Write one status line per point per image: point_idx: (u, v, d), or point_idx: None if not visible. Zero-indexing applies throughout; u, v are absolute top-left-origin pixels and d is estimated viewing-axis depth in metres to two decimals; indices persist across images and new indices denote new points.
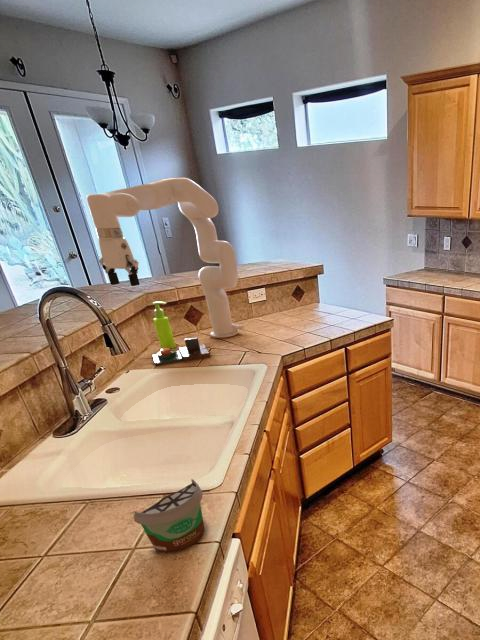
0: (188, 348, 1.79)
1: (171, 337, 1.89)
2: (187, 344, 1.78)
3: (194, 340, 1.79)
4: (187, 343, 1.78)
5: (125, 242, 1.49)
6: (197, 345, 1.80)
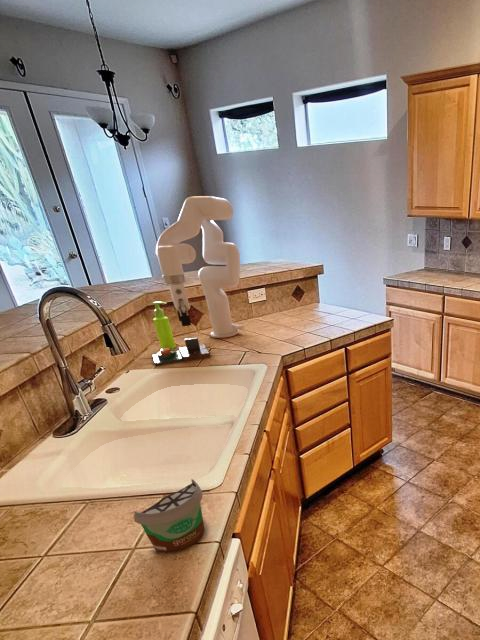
0: (188, 348, 1.79)
1: (171, 337, 1.89)
2: (187, 344, 1.78)
3: (194, 340, 1.79)
4: (187, 343, 1.78)
5: (180, 288, 1.65)
6: (197, 345, 1.80)
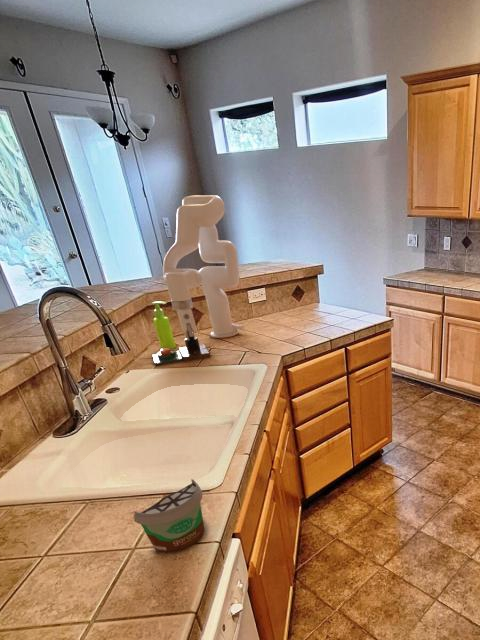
0: (188, 348, 1.79)
1: (171, 337, 1.89)
2: (187, 344, 1.78)
3: None
4: (187, 343, 1.78)
5: (188, 313, 1.70)
6: (197, 345, 1.80)
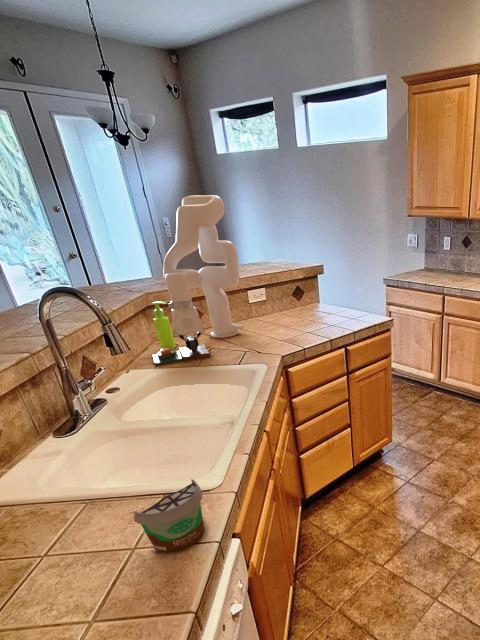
0: None
1: (171, 337, 1.89)
2: None
3: (189, 341, 1.78)
4: None
5: (172, 313, 1.70)
6: None
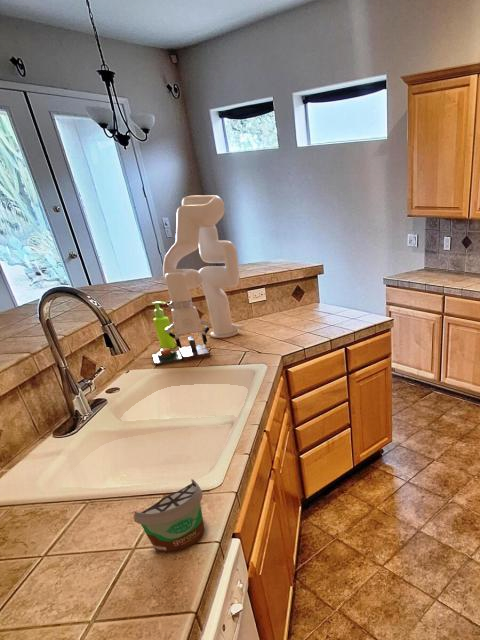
0: None
1: (171, 337, 1.89)
2: None
3: (189, 341, 1.78)
4: None
5: (172, 313, 1.71)
6: (190, 347, 1.78)
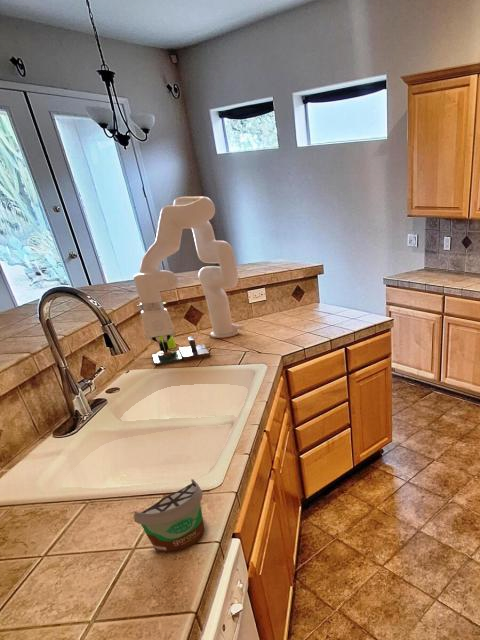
0: None
1: (171, 337, 1.89)
2: None
3: (189, 341, 1.78)
4: None
5: (141, 315, 1.65)
6: (190, 347, 1.78)
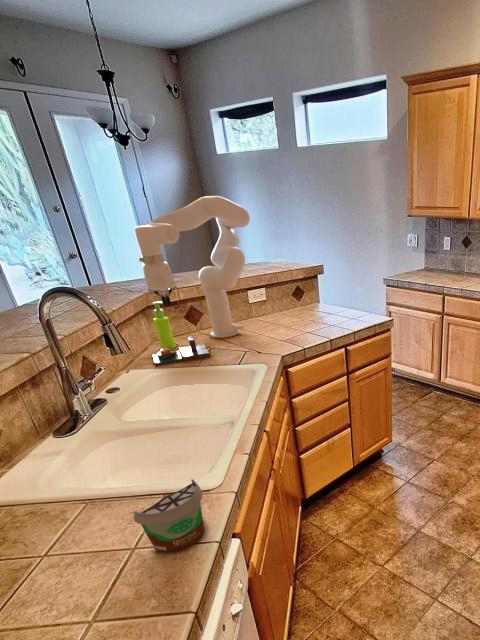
0: None
1: (171, 337, 1.89)
2: None
3: (189, 341, 1.78)
4: None
5: (143, 268, 1.69)
6: (190, 347, 1.78)
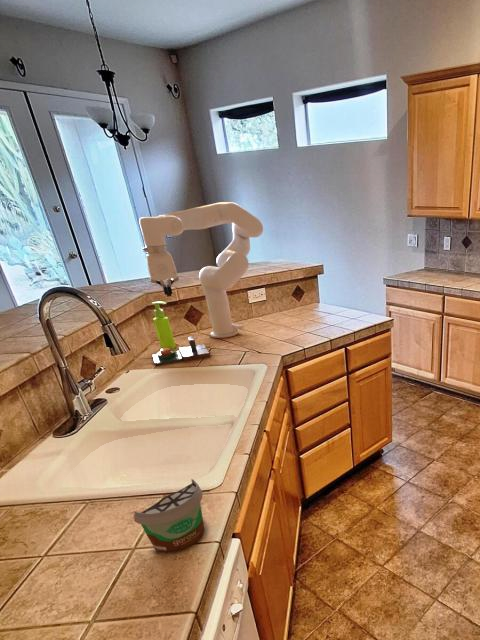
0: None
1: (171, 337, 1.89)
2: None
3: (189, 341, 1.78)
4: None
5: (146, 258, 1.73)
6: (190, 347, 1.78)
